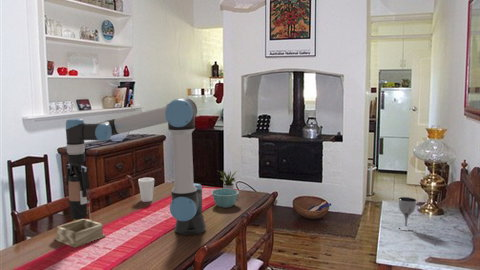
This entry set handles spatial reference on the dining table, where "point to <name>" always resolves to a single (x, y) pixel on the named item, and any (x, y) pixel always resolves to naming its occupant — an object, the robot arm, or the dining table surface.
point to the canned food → (87, 211)
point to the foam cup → (146, 189)
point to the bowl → (225, 197)
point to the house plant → (228, 180)
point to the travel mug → (76, 199)
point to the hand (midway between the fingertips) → (78, 202)
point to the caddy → (79, 232)
